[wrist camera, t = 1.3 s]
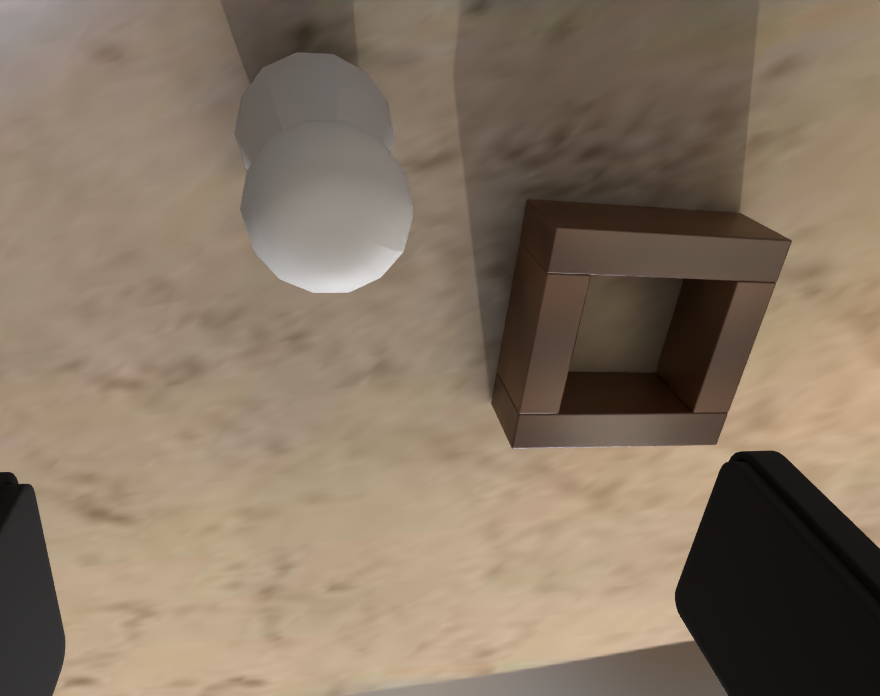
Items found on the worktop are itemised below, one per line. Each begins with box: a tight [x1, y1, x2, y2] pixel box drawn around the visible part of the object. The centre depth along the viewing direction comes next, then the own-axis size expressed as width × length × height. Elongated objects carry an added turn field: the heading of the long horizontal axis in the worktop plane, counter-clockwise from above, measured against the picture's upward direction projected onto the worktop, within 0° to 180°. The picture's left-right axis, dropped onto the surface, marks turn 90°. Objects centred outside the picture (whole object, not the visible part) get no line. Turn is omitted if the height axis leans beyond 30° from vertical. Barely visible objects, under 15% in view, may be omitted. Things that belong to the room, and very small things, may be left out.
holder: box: [491, 199, 792, 449], centre depth 33 cm, size 11×11×4 cm
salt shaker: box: [235, 52, 413, 293], centre depth 22 cm, size 6×6×13 cm
